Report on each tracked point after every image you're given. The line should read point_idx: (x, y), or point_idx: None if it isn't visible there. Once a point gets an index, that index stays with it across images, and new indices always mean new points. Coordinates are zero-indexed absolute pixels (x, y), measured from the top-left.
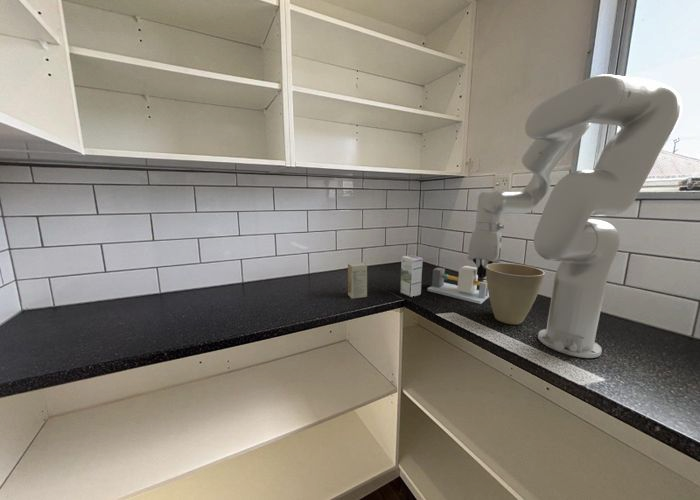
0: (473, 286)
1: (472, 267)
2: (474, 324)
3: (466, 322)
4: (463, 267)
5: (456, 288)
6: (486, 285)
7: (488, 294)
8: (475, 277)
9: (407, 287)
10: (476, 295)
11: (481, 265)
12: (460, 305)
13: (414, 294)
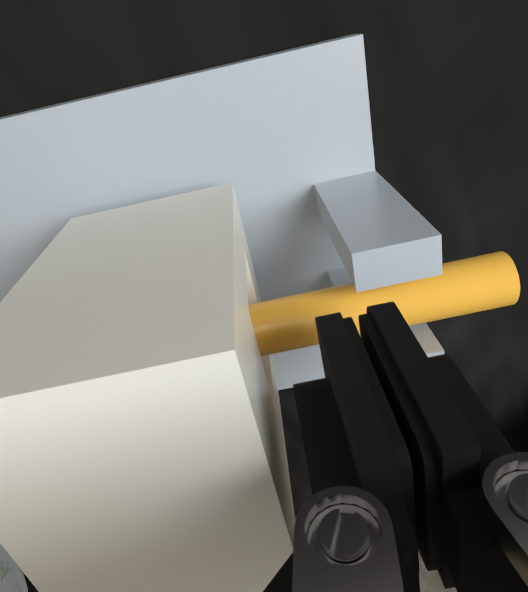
0: (248, 301)
1: (124, 422)
2: None
3: (436, 581)
4: (41, 548)
5: (31, 251)
6: (431, 335)
7: (363, 124)
8: (260, 359)
9: None
10: (295, 270)
11: (417, 586)
12: (301, 467)
13: (17, 581)
